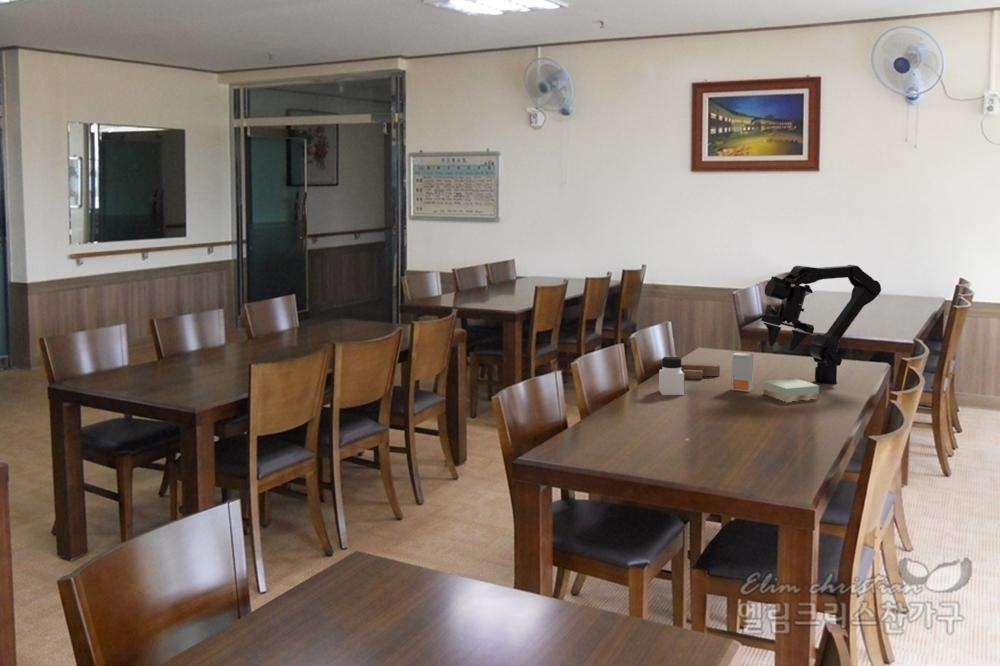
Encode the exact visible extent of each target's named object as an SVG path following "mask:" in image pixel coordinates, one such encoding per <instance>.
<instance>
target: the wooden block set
mask: <svg viewBox="0 0 1000 666" xmlns="http://www.w3.org/2000/svg"><path fill="white" fill-rule="evenodd" d="M681 371H682V372H683V373H684V374H685V376H684V380H702V379H703V377H702V376H717V377H720V373H721V372H720V371H721V365H720V364H719V363H697V362H682V361H681Z"/></svg>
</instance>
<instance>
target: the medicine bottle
mask: <svg viewBox="0 0 1000 666" xmlns="http://www.w3.org/2000/svg"><path fill="white" fill-rule="evenodd" d="M681 362H682V358H681V357H680V356H677V355H667V356H666V355H665V356H664V357H662V369H659V370H658V371H659V372H658V391H659V392H660V393H661V395H662V396H684V395H685V379H684V376H685V374H684V373H683V372H682V371H681Z"/></svg>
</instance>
